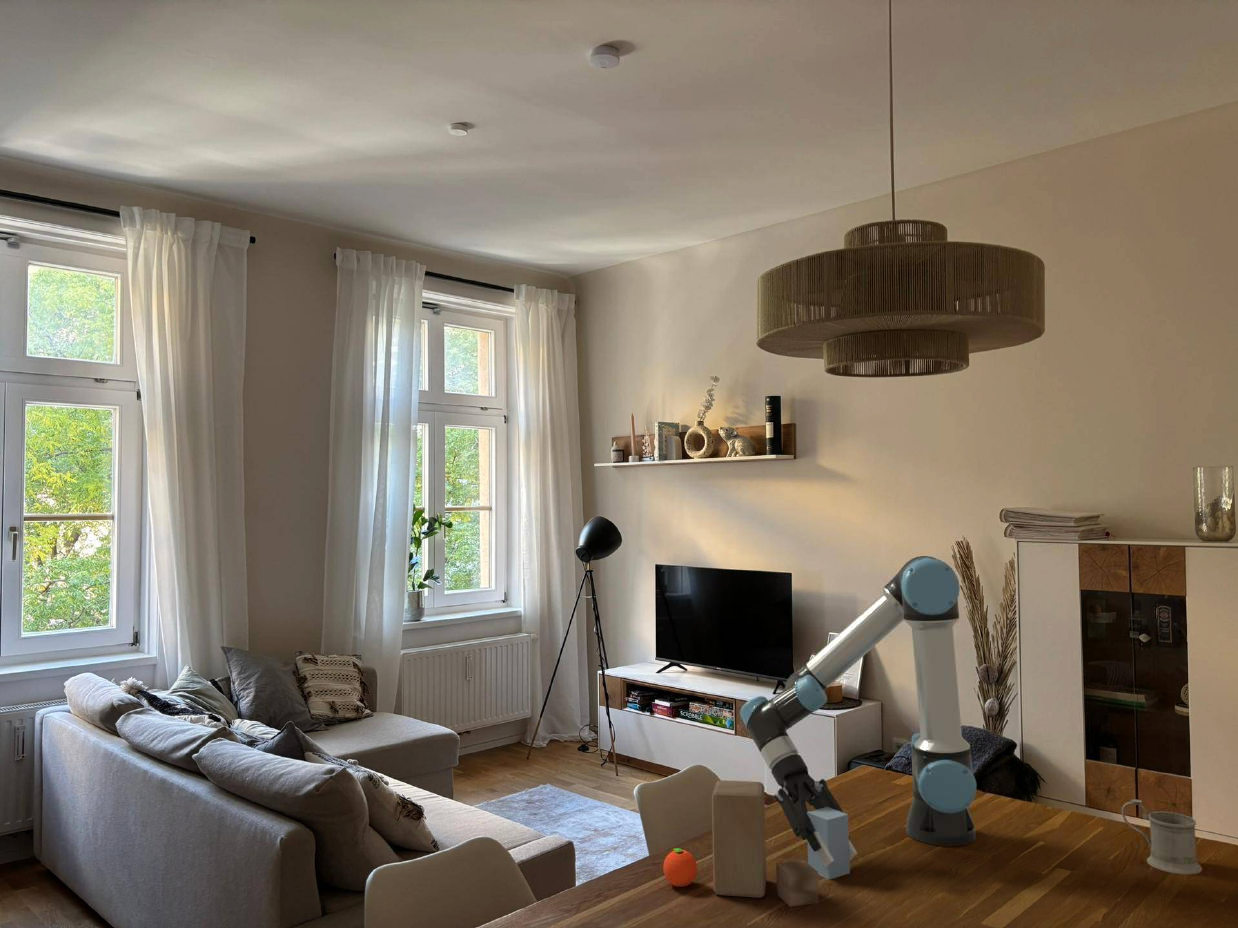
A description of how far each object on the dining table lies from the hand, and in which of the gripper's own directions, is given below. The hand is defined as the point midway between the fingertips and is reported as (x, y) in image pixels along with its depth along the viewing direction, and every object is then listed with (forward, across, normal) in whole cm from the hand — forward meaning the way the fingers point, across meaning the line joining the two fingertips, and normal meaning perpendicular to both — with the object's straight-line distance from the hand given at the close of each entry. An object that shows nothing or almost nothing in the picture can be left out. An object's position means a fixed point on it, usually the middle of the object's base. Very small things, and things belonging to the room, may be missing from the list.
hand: (841, 860), depth 186 cm
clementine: (-9, +30, -14) cm, 34 cm away
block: (-3, +20, -8) cm, 22 cm away
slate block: (0, 0, -5) cm, 5 cm away
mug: (+25, -61, +20) cm, 69 cm away
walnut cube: (+4, +14, -1) cm, 15 cm away
